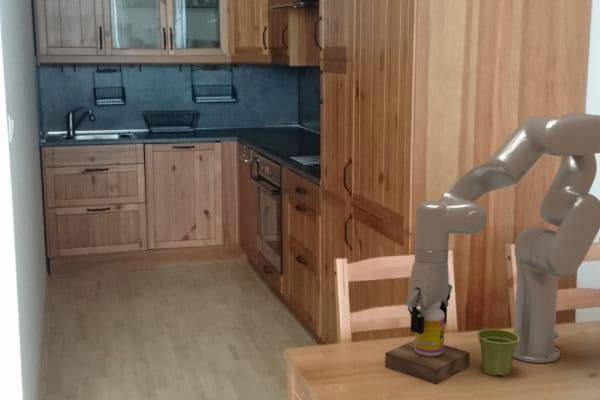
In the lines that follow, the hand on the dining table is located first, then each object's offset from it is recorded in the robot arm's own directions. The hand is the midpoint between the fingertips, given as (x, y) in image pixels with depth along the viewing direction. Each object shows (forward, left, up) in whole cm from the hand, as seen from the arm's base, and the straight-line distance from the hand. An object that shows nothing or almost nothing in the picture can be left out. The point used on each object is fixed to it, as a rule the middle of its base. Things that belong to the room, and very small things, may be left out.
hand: (428, 327), depth 175 cm
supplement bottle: (0, 0, -6) cm, 6 cm away
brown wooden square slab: (0, 0, -10) cm, 10 cm away
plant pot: (-9, +13, -10) cm, 19 cm away
